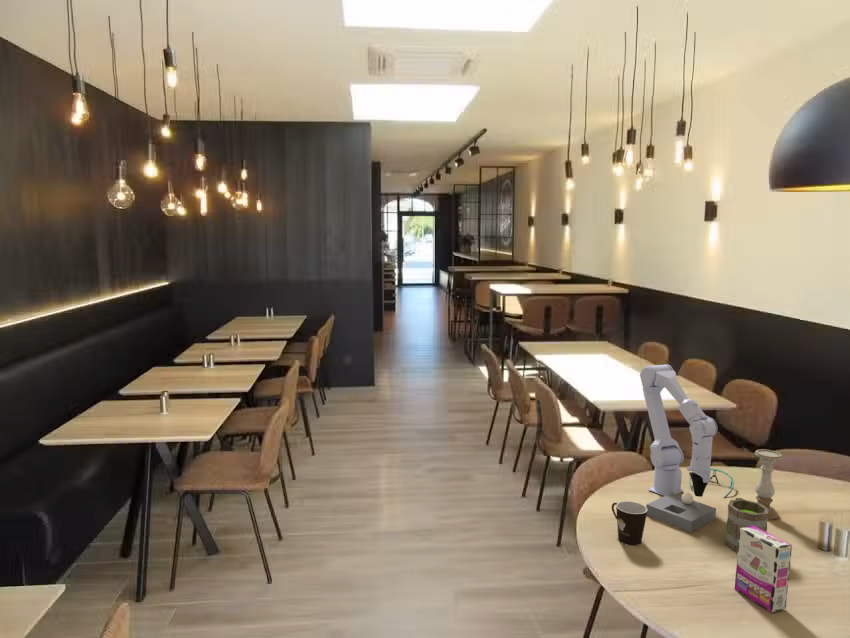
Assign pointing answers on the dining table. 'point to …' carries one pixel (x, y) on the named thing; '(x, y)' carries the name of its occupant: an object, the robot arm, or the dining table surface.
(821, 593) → the dining table surface
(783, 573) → the candy bar box
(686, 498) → the ball
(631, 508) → the coffee mug
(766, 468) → the candle holder
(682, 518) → the deck
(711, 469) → the teal safety glasses
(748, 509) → the mug
